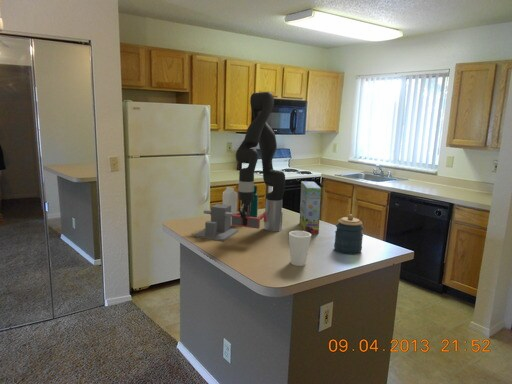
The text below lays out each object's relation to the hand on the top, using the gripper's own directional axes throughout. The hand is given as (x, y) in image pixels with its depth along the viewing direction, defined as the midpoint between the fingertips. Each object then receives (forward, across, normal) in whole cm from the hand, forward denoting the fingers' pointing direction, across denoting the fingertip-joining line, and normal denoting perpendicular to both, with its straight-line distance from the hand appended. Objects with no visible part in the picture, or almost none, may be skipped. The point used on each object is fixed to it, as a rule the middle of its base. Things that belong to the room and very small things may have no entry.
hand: (245, 224), depth 186 cm
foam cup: (+9, -17, -30) cm, 36 cm away
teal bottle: (+10, +41, +12) cm, 44 cm away
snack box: (+10, +39, -24) cm, 47 cm away
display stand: (+9, +7, +18) cm, 22 cm away
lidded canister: (+10, +10, -49) cm, 51 cm away
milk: (+10, +26, +19) cm, 34 cm away
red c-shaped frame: (+1, +6, 0) cm, 6 cm away
